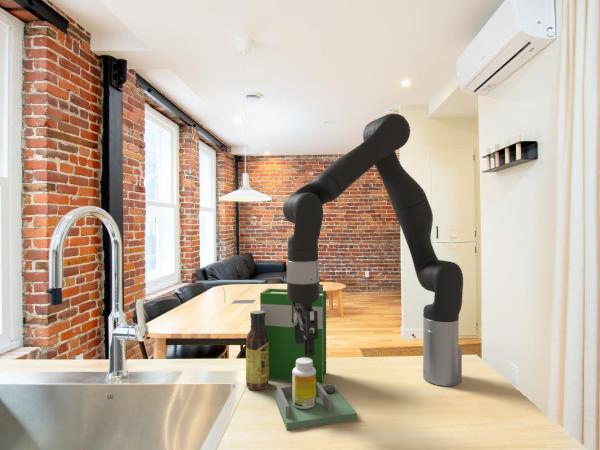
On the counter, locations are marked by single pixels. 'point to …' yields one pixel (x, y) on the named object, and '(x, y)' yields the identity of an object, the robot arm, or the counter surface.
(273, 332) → the hardback book
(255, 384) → the sauce bottle
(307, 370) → the supplement bottle
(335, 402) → the green plate with knob
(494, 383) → the counter surface
